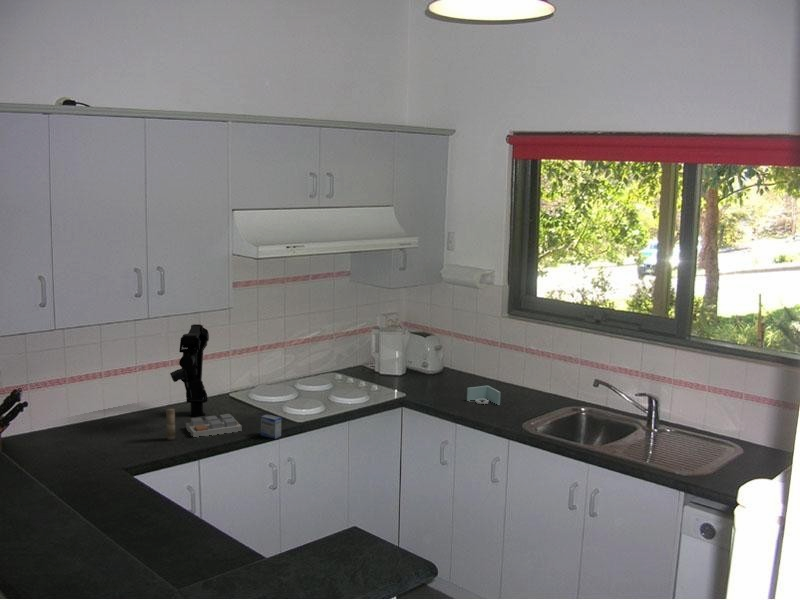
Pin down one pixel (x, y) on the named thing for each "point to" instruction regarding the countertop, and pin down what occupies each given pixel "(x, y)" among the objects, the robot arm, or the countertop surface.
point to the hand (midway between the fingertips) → (190, 397)
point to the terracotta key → (200, 428)
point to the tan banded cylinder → (170, 424)
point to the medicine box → (270, 426)
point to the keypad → (214, 425)
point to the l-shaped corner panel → (483, 395)
